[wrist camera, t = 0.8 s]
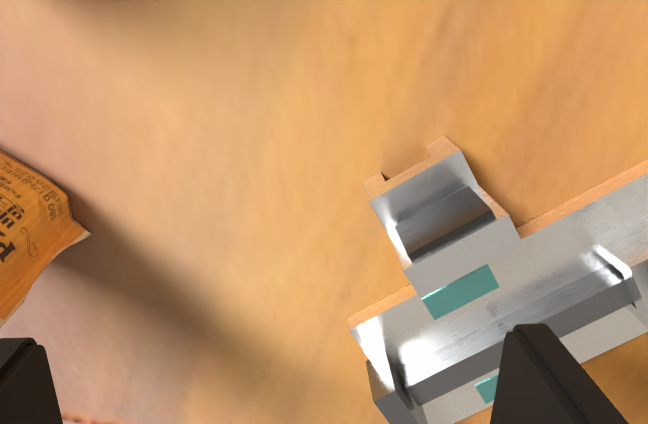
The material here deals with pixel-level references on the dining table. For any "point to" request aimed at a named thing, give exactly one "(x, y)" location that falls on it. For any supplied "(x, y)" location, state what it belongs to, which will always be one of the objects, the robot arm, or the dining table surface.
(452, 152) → the notched grey block
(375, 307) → the grey vise fixture
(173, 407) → the dining table surface
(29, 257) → the pancake mix bag
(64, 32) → the dining table surface
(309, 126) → the dining table surface
